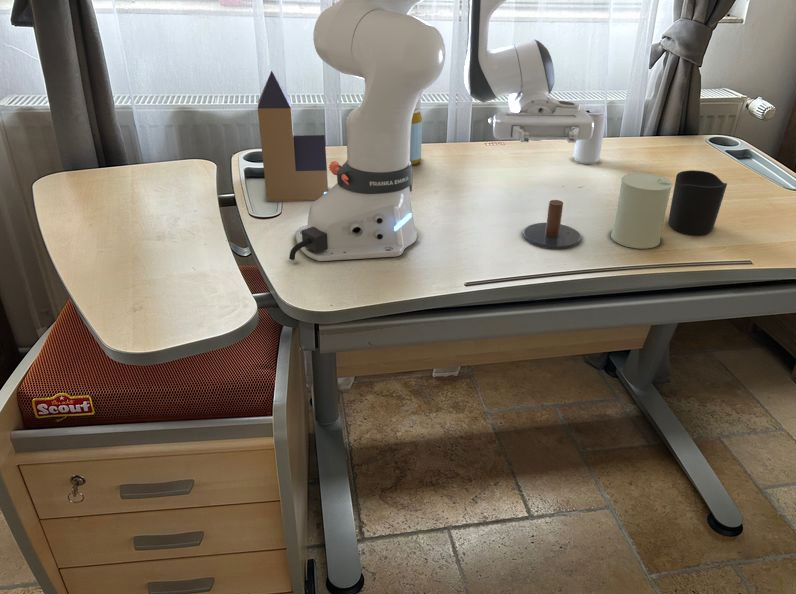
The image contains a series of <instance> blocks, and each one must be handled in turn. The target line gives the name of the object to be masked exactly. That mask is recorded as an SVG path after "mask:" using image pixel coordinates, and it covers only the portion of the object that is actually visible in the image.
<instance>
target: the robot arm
mask: <svg viewBox="0 0 796 594" xmlns="http://www.w3.org/2000/svg"><path fill="white" fill-rule="evenodd" d="M423 1H424V0H337V1H336V2H335V3H334V4H332V5H330V6H328V7H326V8H325V9H323V11H321V13H320V14H319V16H318V17H317V19H316V21H315V24H314V27H313V37H312V38H313V39H312V40H313V46H314V49H315V52H316V54H317V55H318V57H319V58H320V60H322V62H324V63H325V64H327V65H328V66H330V67H331V68H333V69H334V70H336V71H337V72H340V73H341V74H344V75H347V76H352V77H355V78H358V79H362V80H364V92H363V97H362V100H361V104H360V105H357V107H354V108H353V109H352V110H351V111H350V113H348V116H347V118H346V121H345V127H346V128H345V129H346V130H345V131H346V160H345V162H343V164H342V165H341V164H340V163H339V162H338V161H336V160H333V161H331V162H330V164H328V170H329V172H330V173H332V175H334V176H336V184H334V185H333V186H332V187H331V188H329V189H328V191H327V192H324V195H323V196H321V197H320V198H319V199H318V200H314V202H313V203H311V205H310V207H309V210H308V216H307V224H305V225H302V226H299V227H298V229H297V231H296V233H295V241H296V244H294V245H293V247H292V248H291V249H290V252H289V256H288V259H289V260H290V261H295V260H296V254H297V253H298V251H299V250H300V251H301V252H302V253H303V254H305V256H307V257H309V258H310V259H312V260H315V261H317V262H328V261H343V260H344V261H345V260H347V261H348V260H361V259H375V258H377V259H378V258H392V257H393V258H394V257H400V256H401V255H403V253H404V251H405V249H407V248H408V247H410V246H411V245H412V244H414V243H415V242H416V240H417V239H418V236H419V235H418V231H417V229H416V224H415V221H414V220H415V219H414V215H413V208H412V207H413V206H412V197H411V192H412V191H413V179H414V176H413V175H414V174H413V165H412V163H411V161H410V134H411V122H412V117H413V113H414V109H415V106H416V104H417V102H418V100H419V98H421V96H422V94H423V93H424V92H425V91H426V90H427V89H428V88H430V87H431V86H432V85H434V83H435V82H436V81H437V80H438V78H440V76H441V74H442V71H443V69H444V67H445V62H446V45H445V41H444V37H443V35H442V34H441V33H440V30H438V28H436V27H435V26H434V25H432V24H430V23H428V22H426V21H424V20H423V19H420V18H418V17H416V16H415V15H411V14H408V13H409V12H410V11H411V10H412V9H413V8H414V7H416V5H418V4H419V3H421V2H423ZM507 1H508V0H468V1H467V24H466V25H467V28H466V35H467V36H466V53H465V54H466V55H465V65H464V71H463V79H464V85H465V88H466V91H467V93H468V95H469V96H470V97H472V98H473V99H475V100H477V101H479V102H481V103H483V104H484V103H487V102H490V101H493V100H496V99H498V98H500V97H501V98H502V97H504V96H508V97H507V98H508V100H507V105H508V111H502V112H497V113H495V114H494V116H493V117H489V118H488V123H489V125H490V126H492V135H493V138H495V139H498V140H517V141H519V142H520V143H529V141H531V142H540V141H541V142H542V141H544V140H551V141H552V140H553V141H555V140H557V141H558V140H559V141H561V140H563V141H564V140H565V141H567V143H568V144H575V143H576V141H577V140H589V139H591V138H592V135H593V129H594V121H593V120H592V118H591V117H590V116H589V115H588V114H587V113H586V112H584V111H583V110H582V109H580V108H581V107H580V106H581V105H580V104H579V103H577V102H573V101H565V100H559V99H556V98H554V97H550V96H549V95H550V94H551V93H552V90H553V88H554V85H555V79H556V78H555V68H554V63H553V59H552V56H551V54H550V51H549V50H548V47H546V46H545V45H544V44H543V43H542V42H541V41H539V40H537V39H535V38H534V39H530V40H529V39H528V40H525V41H521V42H516V43H513V44H510V45H507V46H501V47H497V48H493V49H488V45H489V39H488V38H489V26H490V25H489V24H490V19H491V16H492V15H493V14H494V13H495V11H496V10H497V9H498V8H499V7H501V6H502V5H503V4H504V3H505V2H507Z"/></svg>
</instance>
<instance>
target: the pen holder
mask: <svg viewBox="0 0 796 594" xmlns="http://www.w3.org/2000/svg"><path fill="white" fill-rule="evenodd" d="M727 186H728V183H727V182H724V181H722V180H721V178H719V177H718V176H717V175H716V174H714V173H713V172H709V171H705V170H693V169H690V170H683V171H679V172H678V173H677V174H676V175H675V182H674V188H673V193H672V198H671V203H670V208H669V209H670V210H669V215H668V220H667V222H668V225H669V227H670V228H671V229H672V230H674V231H676V232H678V233H680V234H683V235H684V234H685V235H689V236H690V235H691V236H704V235H709V234H710V233H711V232H712V231H714V228H715V224H716V221H717V218H718V215H719V212H720V208H721V206H722V203H723V199H724V196H725V192H726V190H727Z"/></svg>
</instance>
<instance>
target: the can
mask: <svg viewBox="0 0 796 594" xmlns="http://www.w3.org/2000/svg"><path fill="white" fill-rule="evenodd" d="M620 181H621V182H620V188H619V194H618V200H617V205H616V211H615V217H614V220H613V221H614V222H613V227H612V231H611V234H610V237H611V239H612V240H613V241H614V242H615V243H617V244H619V245H621V246H624V247H628V248H630V249H639V250H644V249H645V250H646V249H653V248H655V247H658V246H659V245H660V243H661V237H662V231H663V226H664V221H665V217H666V212H667V207H668V205H669V204H668V203H669V199H670V196H671V195H670V194H671V190H672V188H673V182H672V180H670V179H669V178H667V177H665V176H662V175H659V174H654V173H651V172H638V171H637V172H630V173H626V174H624V175H623V176H622V177H621V180H620Z"/></svg>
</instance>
